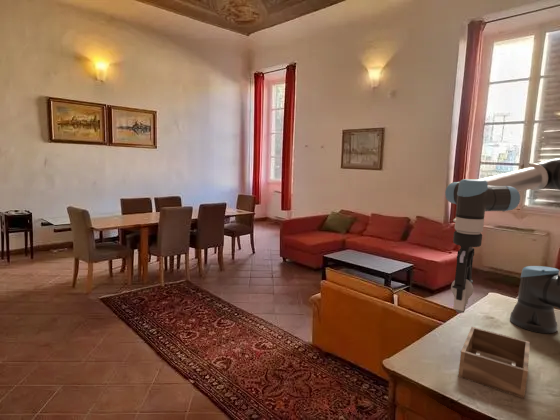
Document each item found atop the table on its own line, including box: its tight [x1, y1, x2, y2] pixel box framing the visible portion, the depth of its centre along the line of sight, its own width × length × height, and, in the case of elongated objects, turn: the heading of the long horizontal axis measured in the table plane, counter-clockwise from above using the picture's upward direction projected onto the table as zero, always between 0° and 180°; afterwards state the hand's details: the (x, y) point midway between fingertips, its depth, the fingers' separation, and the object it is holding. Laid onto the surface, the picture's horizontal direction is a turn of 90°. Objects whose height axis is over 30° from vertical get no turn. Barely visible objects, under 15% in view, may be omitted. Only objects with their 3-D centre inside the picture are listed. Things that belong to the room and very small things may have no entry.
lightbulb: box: [450, 279, 475, 315], centre depth 111 cm, size 6×6×11 cm
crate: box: [457, 326, 531, 399], centre depth 109 cm, size 20×16×8 cm
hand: (460, 305), depth 111 cm, fingers closed on lightbulb, 6 cm apart
